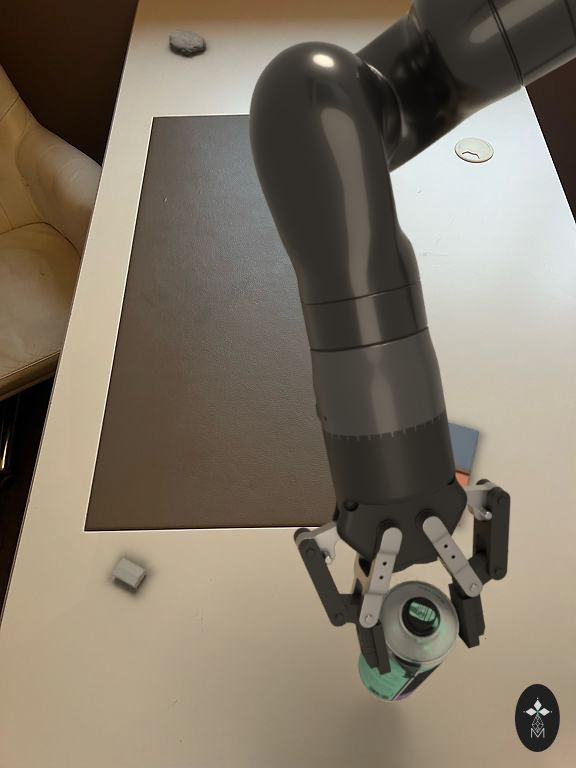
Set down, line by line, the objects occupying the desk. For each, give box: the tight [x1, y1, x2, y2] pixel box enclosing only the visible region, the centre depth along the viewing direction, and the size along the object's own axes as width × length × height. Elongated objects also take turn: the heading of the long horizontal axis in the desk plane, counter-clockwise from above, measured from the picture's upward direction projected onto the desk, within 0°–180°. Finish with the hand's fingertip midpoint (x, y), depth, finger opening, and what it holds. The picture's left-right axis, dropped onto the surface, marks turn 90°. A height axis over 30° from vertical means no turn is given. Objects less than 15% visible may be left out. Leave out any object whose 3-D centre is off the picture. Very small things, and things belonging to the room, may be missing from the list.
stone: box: [168, 29, 207, 55], centre depth 127 cm, size 7×8×2 cm
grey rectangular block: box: [112, 557, 148, 590], centre depth 67 cm, size 2×3×2 cm
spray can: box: [357, 579, 459, 703], centre depth 47 cm, size 6×6×20 cm
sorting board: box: [448, 422, 480, 522], centre depth 73 cm, size 8×12×1 cm, turn 160°
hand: (425, 652), depth 41 cm, fingers closed on spray can, 5 cm apart
